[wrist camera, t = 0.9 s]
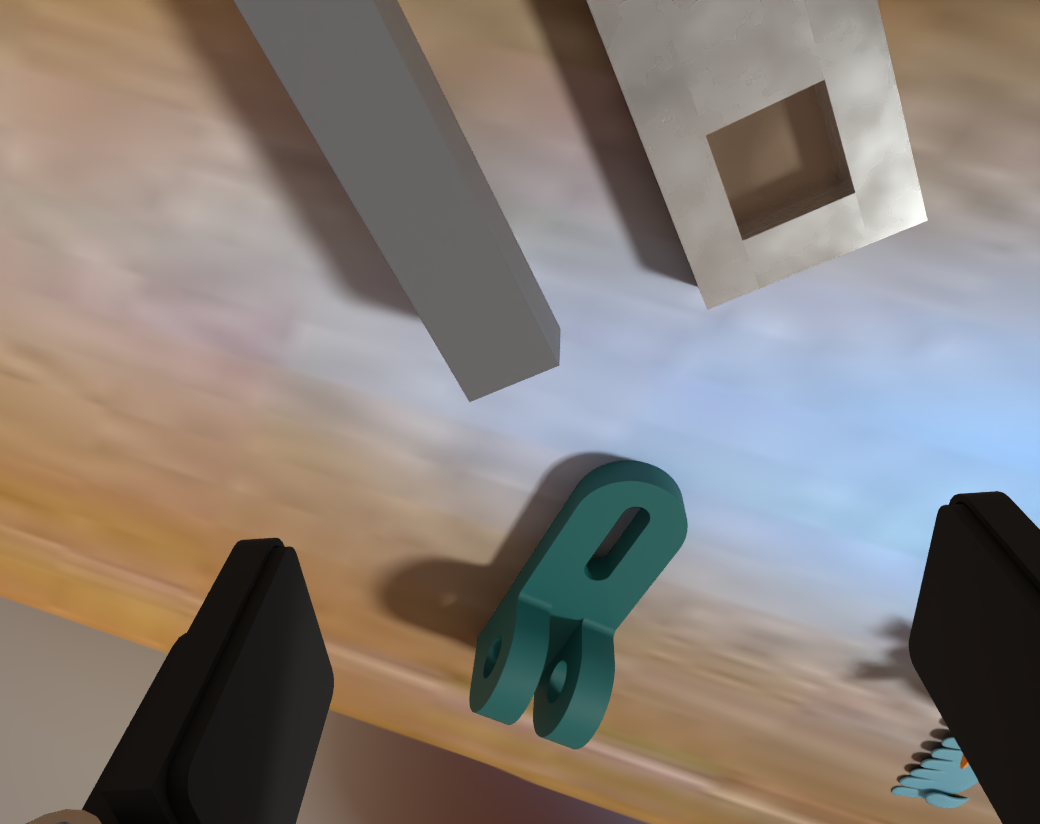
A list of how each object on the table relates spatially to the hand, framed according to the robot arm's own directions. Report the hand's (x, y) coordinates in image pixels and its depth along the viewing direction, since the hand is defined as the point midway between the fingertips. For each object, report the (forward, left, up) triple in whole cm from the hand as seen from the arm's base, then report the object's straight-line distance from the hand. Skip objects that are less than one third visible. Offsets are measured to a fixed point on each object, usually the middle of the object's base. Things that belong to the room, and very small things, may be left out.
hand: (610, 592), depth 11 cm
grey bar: (+6, -3, -28) cm, 29 cm away
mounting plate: (-8, -3, -28) cm, 29 cm away
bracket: (+10, +23, -29) cm, 38 cm away
